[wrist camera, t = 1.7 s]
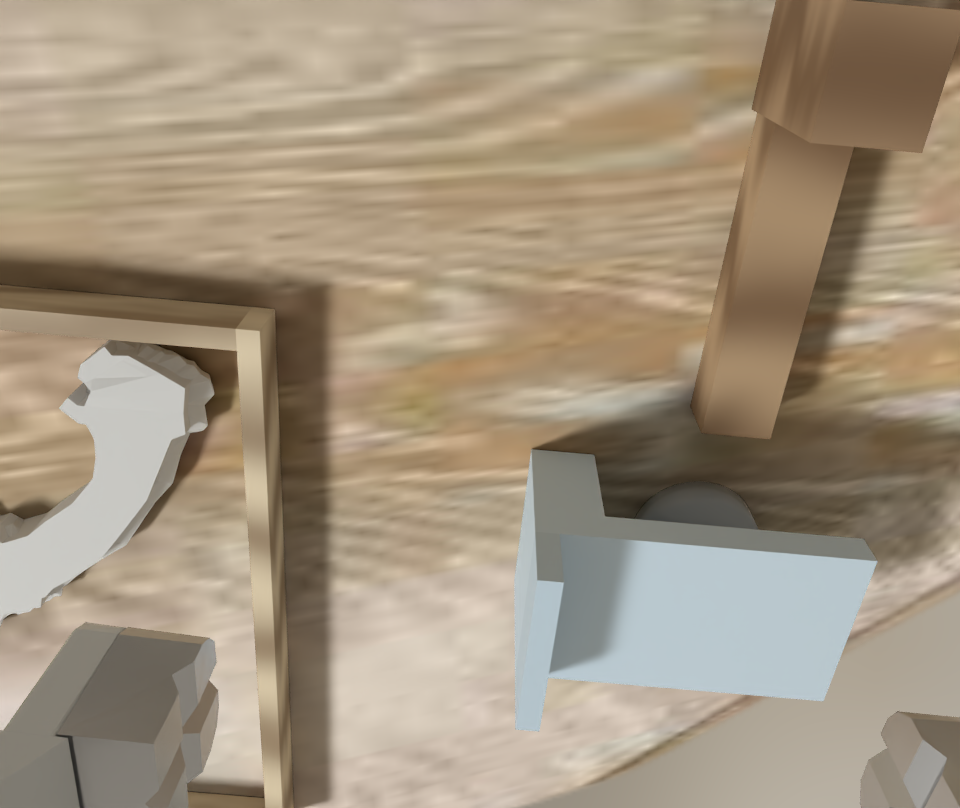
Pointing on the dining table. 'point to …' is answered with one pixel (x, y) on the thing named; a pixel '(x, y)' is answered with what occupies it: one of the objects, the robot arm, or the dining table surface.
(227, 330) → the wooden frame
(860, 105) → the brown l-shaped block
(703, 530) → the shelf
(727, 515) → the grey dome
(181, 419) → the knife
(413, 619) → the dining table surface
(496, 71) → the dining table surface
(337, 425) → the dining table surface
